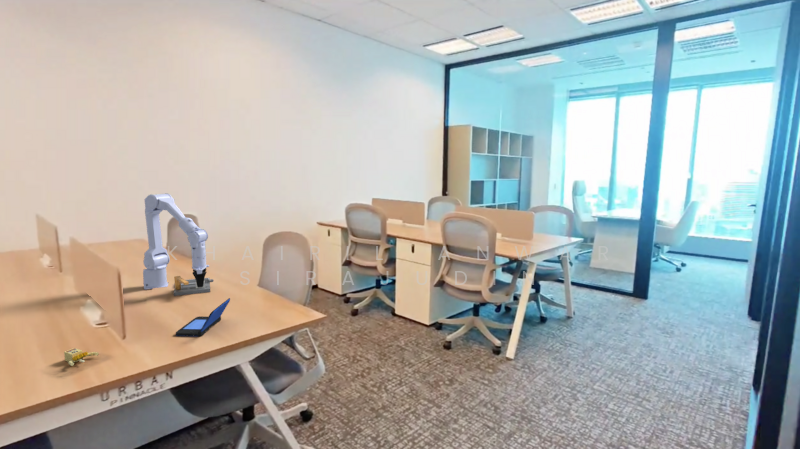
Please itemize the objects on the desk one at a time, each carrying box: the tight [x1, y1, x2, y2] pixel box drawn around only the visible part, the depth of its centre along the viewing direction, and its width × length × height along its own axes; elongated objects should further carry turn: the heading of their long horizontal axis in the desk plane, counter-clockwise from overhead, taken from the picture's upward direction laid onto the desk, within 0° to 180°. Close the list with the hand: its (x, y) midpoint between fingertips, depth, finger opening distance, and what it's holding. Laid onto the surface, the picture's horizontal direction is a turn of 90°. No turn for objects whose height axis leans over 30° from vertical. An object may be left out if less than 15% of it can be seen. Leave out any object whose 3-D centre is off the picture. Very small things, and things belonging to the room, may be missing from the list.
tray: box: [181, 277, 211, 286], centre depth 196 cm, size 14×8×2 cm, turn 116°
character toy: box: [63, 347, 99, 367], centre depth 120 cm, size 8×3×8 cm
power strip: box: [173, 283, 211, 297], centre depth 186 cm, size 14×9×2 cm, turn 116°
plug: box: [196, 278, 214, 289], centre depth 188 cm, size 7×4×6 cm, turn 116°
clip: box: [174, 275, 189, 290], centre depth 179 cm, size 13×2×6 cm, turn 45°
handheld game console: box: [175, 297, 231, 338], centre depth 146 cm, size 16×13×9 cm
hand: (200, 285), depth 187 cm, fingers closed on plug, 4 cm apart
